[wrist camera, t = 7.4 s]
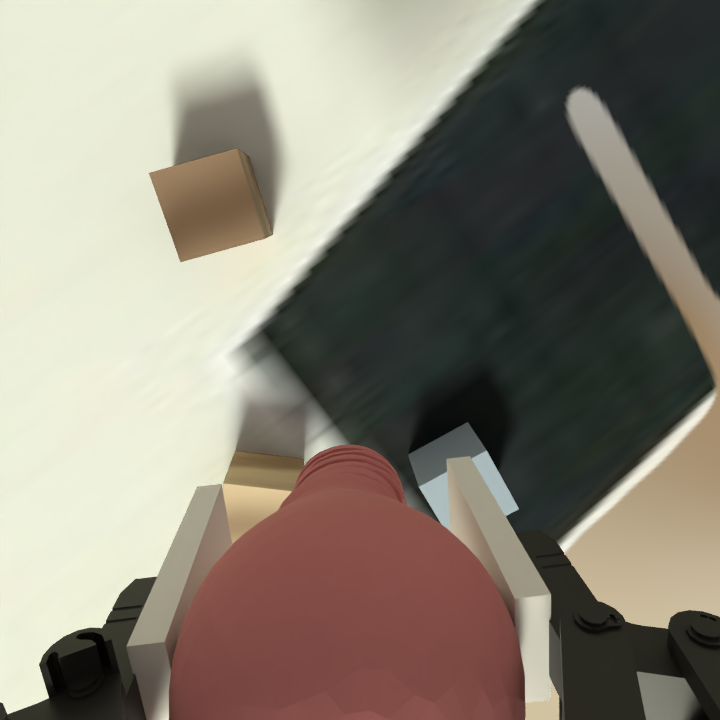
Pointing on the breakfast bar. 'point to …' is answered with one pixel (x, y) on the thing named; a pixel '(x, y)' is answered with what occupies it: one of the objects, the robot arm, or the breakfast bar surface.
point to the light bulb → (347, 613)
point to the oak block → (257, 488)
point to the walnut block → (211, 204)
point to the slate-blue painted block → (433, 470)
